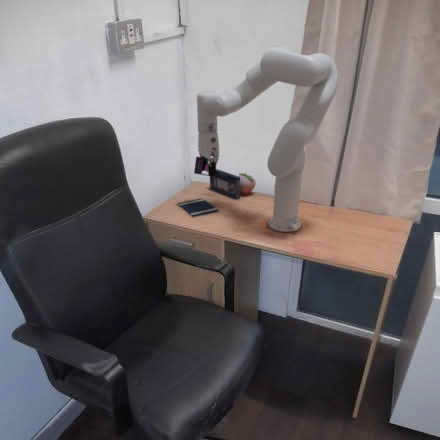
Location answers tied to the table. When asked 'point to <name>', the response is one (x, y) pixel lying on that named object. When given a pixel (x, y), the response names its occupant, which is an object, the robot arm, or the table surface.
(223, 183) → the vhs cassette tape
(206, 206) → the cloth
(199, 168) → the monster skateboard toy
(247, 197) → the table surface
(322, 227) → the table surface
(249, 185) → the decorative fruit
